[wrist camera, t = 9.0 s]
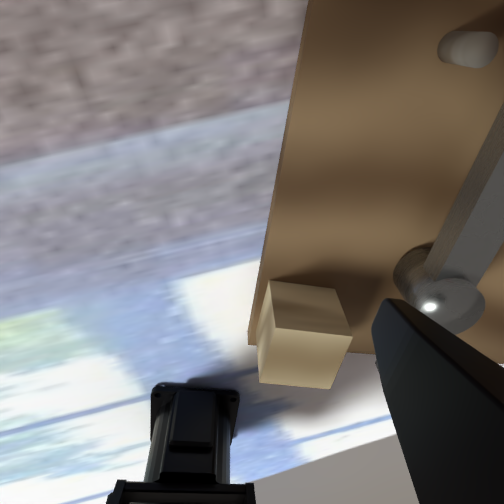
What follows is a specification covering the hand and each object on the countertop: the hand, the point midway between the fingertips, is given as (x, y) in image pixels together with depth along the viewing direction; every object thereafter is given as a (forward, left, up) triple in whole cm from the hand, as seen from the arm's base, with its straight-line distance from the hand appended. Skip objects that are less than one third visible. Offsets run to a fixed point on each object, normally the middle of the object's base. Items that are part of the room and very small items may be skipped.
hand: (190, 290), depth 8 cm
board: (-1, -12, -12) cm, 17 cm away
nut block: (-9, -6, -11) cm, 15 cm away
